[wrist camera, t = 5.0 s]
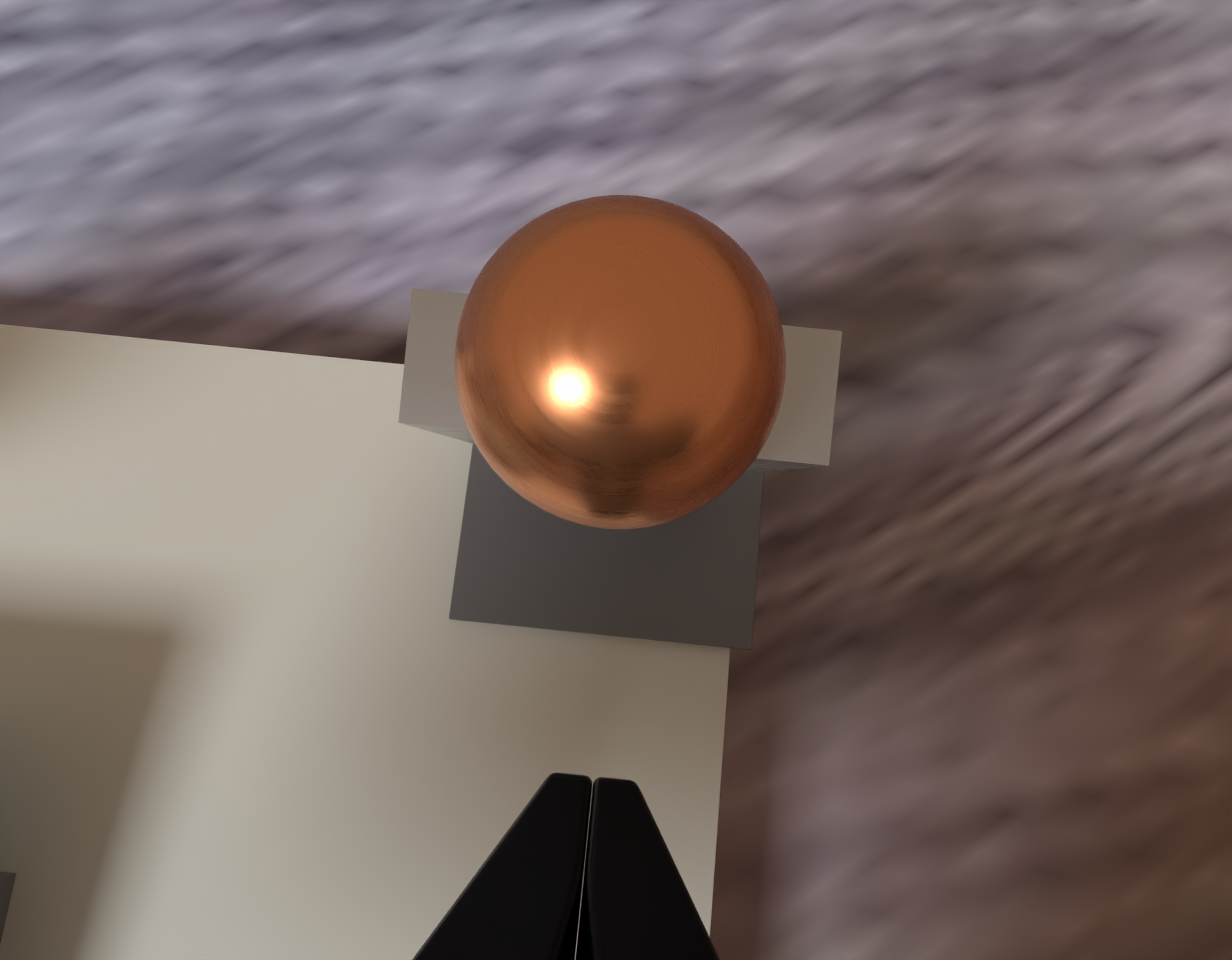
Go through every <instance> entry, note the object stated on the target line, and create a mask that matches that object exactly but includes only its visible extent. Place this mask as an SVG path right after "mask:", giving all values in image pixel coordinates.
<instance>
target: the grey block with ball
mask: <svg viewBox="0 0 1232 960" xmlns="http://www.w3.org/2000/svg"><path fill="white" fill-rule="evenodd" d="M841 340H842V331H836V330H826V329H816V328H806V327H796V326H786V325H782V324H781V320H780V316H779V312H778V309H777V306H776V304H775V301H774V298H773V296H772V293H771V291H770V289H769V287H768V285H767V283H766V282H765V280H764V278H763V276H762V274H761V272H760V271H759V270H758V268H757V267H756V265H755V264H754V263H753V261H752V260H751V258H750V257H749V256H748V255H747V253H746V252H745V251H744V250H743V249H742V248H741V247H740V246H739V245H738V244H737V243H736V242H735V241H734V240H733V239H732V238H731V237H730V236H728V235H727V234H726V233H725V232H724V231H722V230H721V229H720V228H719V227H718V226H716V225H715V224H713V223H711V222H710V221H708V220H707V219H705V218H703V217H702V216H700V215H698V214H696V213H694V212H692V211H690V210H687V209H685V208H683V207H681V206H679V205H675V204H672V203H669V202H665V201H662V200H659V199H653V198H647V197H641V196H630V195H610V196H600V197H592V198H587V199H583V200H579V201H575V202H571V203H568V204H566V205H563V206H560V207H558V208H555V209H552V210H550V211H549V212H547V213H545V214H543V215H541V216H539V217H537V218H535V219H533V220H532V221H531V222H529V223H528V224H526V225H525V226H524V227H522V228H521V229H519V230H518V231H517V232H515V233H514V234H513V235H512V236H511V237H510V238H509V239H508V240H507V241H506V242H504V243H503V244H502V245H501V246H500V247H499V248H498V250H497V251H496V252H495V253H494V254H493V256H492V257H491V258H490V259H489V261H488V262H487V263H486V264H485V266H484V267H483V269H482V271H481V272H480V274H479V275H478V277H477V279H476V280H475V282H474V284H473V286H472V288H471V291H470V293H469V294H464V293H454V292H444V291H434V290H424V289H414V288H412V293H411V303H410V313H409V323H408V333H407V342H406V352H405V362H404V372H403V382H402V391H401V401H400V411H399V421H398V423H402V424H405V425H409V426H412V427H416V428H419V429H423V430H426V431H430V432H433V433H437V434H440V435H444V436H447V437H451V438H454V439H458V440H461V441H465V442H468V443H472V444H475V445H476V446H477V448H478V450H479V451H480V453H481V454H482V455H483V457H484V458H485V460H486V461H487V463H488V464H489V465H490V467H491V468H492V469H493V470H494V471H495V472H496V474H497V475H498V476H499V477H500V478H501V479H502V480H503V481H504V482H505V483H506V484H507V485H508V486H509V487H510V488H512V489H513V490H514V491H515V492H517V493H518V494H519V495H520V496H521V497H523V498H524V499H526V500H527V501H529V502H530V503H532V504H534V505H535V506H537V507H538V508H540V509H542V510H544V511H546V512H548V513H550V514H552V515H555V516H557V517H559V518H561V519H564V520H567V521H570V522H574V523H577V524H580V525H584V526H590V527H596V528H602V529H635V528H646V527H651V526H655V525H659V524H664V523H668V522H670V521H673V520H676V519H678V518H681V517H684V516H686V515H689V514H690V513H692V512H694V511H696V510H698V509H700V508H702V507H704V506H705V505H707V504H709V503H710V502H712V501H713V500H714V499H716V498H717V497H719V496H720V495H721V494H723V493H724V492H725V491H727V490H728V489H729V488H730V487H731V486H732V485H733V484H734V483H735V482H736V481H737V480H738V479H739V478H740V477H741V476H742V475H743V474H749V473H759V472H769V471H780V470H790V469H800V468H811V467H821V466H829V461H830V451H831V441H832V430H833V420H834V410H835V400H836V390H837V380H838V370H839V360H840V350H841Z"/></svg>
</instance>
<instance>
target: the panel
mask: <svg viewBox="0 0 1232 960" xmlns="http://www.w3.org/2000/svg"><path fill="white" fill-rule="evenodd" d="M403 372H404V364H394V363H384V362H374V361H364V360H354V359H344V358H334V357H324V356H314V355H304V354H294V353H284V352H274V351H264V350H254V349H244V348H234V347H224V346H214V345H204V344H194V343H184V342H174V341H164V340H154V339H144V338H134V337H124V336H114V335H104V334H94V333H84V332H73V331H63V330H53V329H43V328H33V327H23V326H13V325H3V324H0V960H412V959H413V958H414V956H415V955H416V953H417V952H418V951H419V949H420V948H421V947H422V945H423V944H424V943H425V941H426V940H427V939H428V937H429V936H430V935H431V933H432V932H433V930H434V929H435V928H436V926H437V925H438V924H439V922H440V921H441V920H442V918H443V917H444V916H445V914H446V913H447V912H448V910H449V909H450V907H451V906H452V905H453V903H454V902H455V901H456V899H457V898H458V897H459V895H460V894H461V893H462V891H463V890H464V889H465V887H466V886H467V885H468V883H469V882H470V880H471V879H472V878H473V876H474V875H475V874H476V872H477V871H478V870H479V868H480V867H481V866H482V864H483V863H484V862H485V860H486V859H487V857H488V856H489V855H490V853H491V852H492V851H493V849H494V848H495V847H496V845H497V844H498V843H499V841H500V840H501V839H502V837H503V836H504V834H505V833H506V832H507V830H508V829H509V828H510V826H511V825H512V824H513V822H514V821H515V820H516V818H517V817H518V816H519V814H520V813H521V811H522V810H523V809H524V807H525V806H526V805H527V803H528V802H529V801H530V799H531V798H532V797H533V795H534V794H535V793H536V791H537V790H538V789H539V787H540V786H541V784H542V783H543V782H544V780H545V779H546V778H547V777H548V776H549V775H550V774H552V773H557V772H558V773H568V774H577V775H586V776H588V777H589V778H591V780H592V788H593V783H594V781H595V779H597V778H599V777H607V778H616V779H626V780H632V781H634V782H635V783H637V785H638V787H639V788H640V790H641V792H642V794H643V796H644V798H645V801H646V803H647V805H648V807H649V809H650V811H651V813H652V815H653V818H654V820H655V822H656V824H657V826H658V828H659V830H660V832H661V835H662V837H663V839H664V841H665V843H666V845H667V847H668V850H669V852H670V854H671V856H672V858H673V860H674V862H675V864H676V867H677V869H678V871H679V873H680V875H681V877H682V879H683V881H684V884H685V886H686V888H687V890H688V892H689V894H690V896H691V898H692V901H693V903H694V905H695V907H696V909H697V911H698V913H699V916H700V918H701V920H702V922H703V924H704V926H705V928H706V930H707V933H708V935H709V937H710V926H711V912H712V897H713V883H714V869H715V855H716V841H717V827H718V813H719V799H720V785H721V771H722V757H723V742H724V728H725V714H726V700H727V686H728V672H729V658H730V648H736V649H746V650H752V640H753V625H754V610H755V594H756V579H757V564H758V549H759V534H760V519H761V503H762V488H763V473H764V472H759V473H749V474H743V475H742V476H741V477H740V478H739V479H738V480H737V481H736V482H735V483H734V484H733V485H732V486H731V487H730V488H729V489H728V490H727V491H725V492H724V493H723V494H721V495H720V496H719V497H717V498H716V499H714V500H713V501H712V502H710V503H709V504H707V505H705V506H704V507H702V508H700V509H698V510H696V511H694V512H692V513H690V514H689V515H686V516H684V517H681V518H678V519H676V520H673V521H670V522H668V523H664V524H659V525H655V526H651V527H646V528H635V529H602V528H596V527H590V526H584V525H580V524H577V523H574V522H570V521H567V520H564V519H561V518H559V517H557V516H555V515H552V514H550V513H548V512H546V511H544V510H542V509H540V508H538V507H537V506H535V505H534V504H532V503H530V502H529V501H527V500H526V499H524V498H523V497H521V496H520V495H519V494H518V493H517V492H515V491H514V490H513V489H512V488H510V487H509V486H508V485H507V484H506V483H505V482H504V481H503V480H502V479H501V478H500V477H499V476H498V475H497V474H496V472H495V471H494V470H493V469H492V468H491V467H490V465H489V464H488V463H487V461H486V460H485V458H484V457H483V455H482V454H481V453H480V451H479V450H478V448H477V446H476V445H475V444H472V443H468V442H465V441H461V440H458V439H454V438H451V437H447V436H444V435H440V434H437V433H433V432H430V431H426V430H423V429H419V428H416V427H412V426H409V425H405V424H402V423H398V421H399V411H400V401H401V391H402V382H403ZM591 798H592V793H591ZM590 808H591V803H590ZM589 818H590V813H589ZM588 828H589V824H588ZM587 838H588V834H587ZM586 848H587V844H586ZM585 858H586V854H585ZM584 868H585V864H584ZM583 878H584V874H583ZM582 888H583V884H582ZM581 898H582V894H581ZM580 908H581V904H580ZM579 918H580V914H579ZM578 928H579V923H578ZM577 938H578V933H577ZM576 948H577V943H576ZM575 959H576V953H575Z"/></svg>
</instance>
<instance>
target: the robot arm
mask: <svg viewBox="0 0 1232 960" xmlns="http://www.w3.org/2000/svg"><path fill="white" fill-rule="evenodd" d="M591 793H592V798H591ZM590 803H591V808H590ZM589 813H590V818H589ZM588 824H589V828H588ZM587 834H588V838H587ZM586 844H587V848H586ZM585 854H586V858H585ZM584 864H585V868H584ZM583 874H584V878H583ZM582 884H583V888H582ZM581 894H582V898H581ZM580 904H581V908H580ZM579 914H580V918H579ZM578 923H579V928H578ZM577 933H578V938H577ZM576 943H577V948H576ZM575 953H576V959H575ZM412 960H720V958H719V956H718V954H717V952H716V950H715V947H714V945H713V943H712V941H711V939H710V937H709V935H708V933H707V930H706V928H705V926H704V924H703V922H702V920H701V918H700V916H699V913H698V911H697V909H696V907H695V905H694V903H693V901H692V898H691V896H690V894H689V892H688V890H687V888H686V886H685V884H684V881H683V879H682V877H681V875H680V873H679V871H678V869H677V867H676V864H675V862H674V860H673V858H672V856H671V854H670V852H669V850H668V847H667V845H666V843H665V841H664V839H663V837H662V835H661V832H660V830H659V828H658V826H657V824H656V822H655V820H654V818H653V815H652V813H651V811H650V809H649V807H648V805H647V803H646V801H645V798H644V796H643V794H642V792H641V790H640V788H639V787H638V785H637V783H635V782H634V781H632V780H626V779H616V778H607V777H599V778H597V779H595V781H594V783H593V788H592V780H591V778H589V777H588V776H586V775H577V774H568V773H558V772H557V773H552V774H550V775H549V776H548V777H547V778H546V779H545V780H544V782H543V783H542V784H541V786H540V787H539V789H538V790H537V791H536V793H535V794H534V795H533V797H532V798H531V799H530V801H529V802H528V803H527V805H526V806H525V807H524V809H523V810H522V811H521V813H520V814H519V816H518V817H517V818H516V820H515V821H514V822H513V824H512V825H511V826H510V828H509V829H508V830H507V832H506V833H505V834H504V836H503V837H502V839H501V840H500V841H499V843H498V844H497V845H496V847H495V848H494V849H493V851H492V852H491V853H490V855H489V856H488V857H487V859H486V860H485V862H484V863H483V864H482V866H481V867H480V868H479V870H478V871H477V872H476V874H475V875H474V876H473V878H472V879H471V880H470V882H469V883H468V885H467V886H466V887H465V889H464V890H463V891H462V893H461V894H460V895H459V897H458V898H457V899H456V901H455V902H454V903H453V905H452V906H451V907H450V909H449V910H448V912H447V913H446V914H445V916H444V917H443V918H442V920H441V921H440V922H439V924H438V925H437V926H436V928H435V929H434V930H433V932H432V933H431V935H430V936H429V937H428V939H427V940H426V941H425V943H424V944H423V945H422V947H421V948H420V949H419V951H418V952H417V953H416V955H415V956H414V958H413V959H412Z"/></svg>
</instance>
